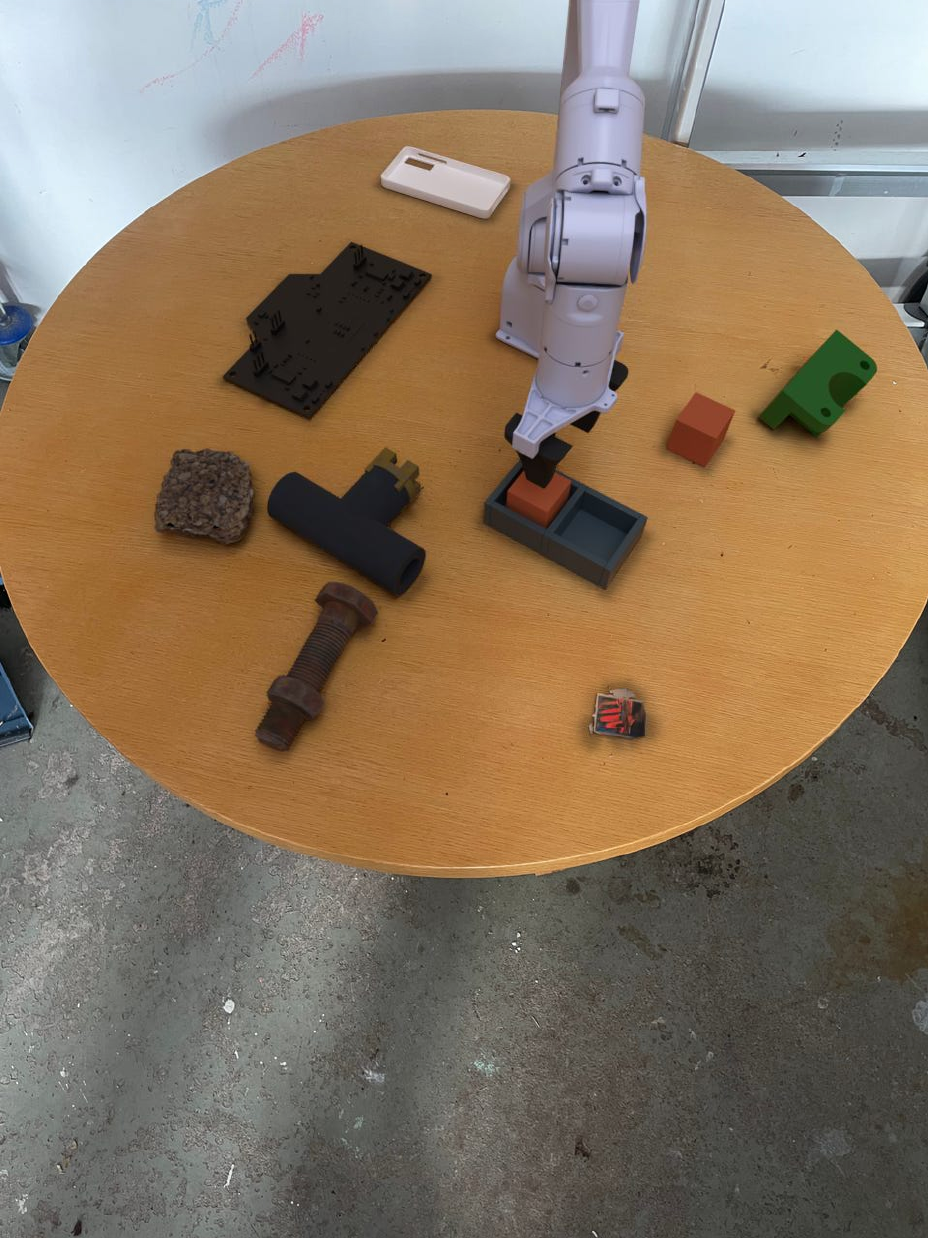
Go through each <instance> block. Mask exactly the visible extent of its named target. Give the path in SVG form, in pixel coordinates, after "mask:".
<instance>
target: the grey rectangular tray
mask: <svg viewBox="0 0 928 1238" xmlns="http://www.w3.org/2000/svg"><path fill="white" fill-rule="evenodd" d="M523 471H524V469H523V466H522V463H521V460H520V458H519V459H518V461H517V462H516V463H515V464H514V465H513V467H512V468H511V469H510V470H509V472H508V473H506V476H505V477H504V478H502V480H501V481H500V483H499V484H498V485H497V487H496V488H495V489H494V490H493V492H492V493H491V494H490V495H489V497H488V498H487V499H486V500H485V501H484V507H483V508H484V510H483V524H484V525H486V526H487V527H490V528H492V529H494V530H496V531H498V532H499V533H501V534H503V535H505V536H506V537H508V538H509V539H512V540H514V541H516V542H517V543H519V544H521V545H523V546H525V547H527V548H528V549H530V550H531V551H534V552H535V553H537V554H539V555H541V556H543V557H545V558H546V559H548V560H550V561H551V562H554V563H556V565H557V564H558V565H559V566H561V567H563V568H565V569H566V570H568V571H570V572H572V573H574V574H576V575H577V576H579V577H581V578H582V579H584V580H586V581H588V582H589V583H592V584H594V585H595V586H597V587H599V588H600V589H603V590H604V591H605V590H607V589H608V587H609V586H610V584H611V582H612V581H613V580H614V578H615V577H616V575H617V574H618V572H619V571H620V570H621V568H622V566H623V565H624V563H625V562H626V561H627V559H628V558H629V556H630V555H631V553H632V552H633V550H634V549H635V547H636V546H637V544H638V543H639V541H640V540H641V538H642V536H643V534H644V531H645V528H646V525H647V521H648V519H649V517H648V516H647V515H645V514H643V513H640V512H639V511H637V510H635V509H633V508H631V507H629V506H627V505H625V504H623V503H622V502H619V501H617V500H615V499H613V498H612V497H610V496H608V495H606V494H604V493H602V492H600V491H598V490H596V489H594V488H593V487H590V486H589V485H587V484H585V483H583V482H581V481H579V480H577V479H575V478H573V477H572V476H569V475H568V474H565V473H563V472H561V471H559V470H558V469H556V470H555V473H557V474H559V475H561V476H563V477H565V478H567V479H569V480H571V486H570V491H569V496H568V502H567V503H566V505H565V506H564V507H563V509H562V510H561V511H560V513H559V514H558V515H557V517H556V518H555V519H554V521H553V522H552V523H551V525H550V526H549V527H548V529H547V530H546V529H545V528H543V527H541V526H540V525H538V524H536V523H534V522H532V521H530V520H528V519H527V518H525V517H523V516H521V515H519V514H517V513H515V512H514V511H512V510H510V509H508V508H506V504H507V493H508V490H509V488H510V487H511V486H512V485H513V483H514V482H515V481H516V480H517V478H518V477H519V476H520V475H521V473H522V472H523Z"/></svg>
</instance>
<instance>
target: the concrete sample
mask: <svg viewBox="0 0 928 1238" xmlns="http://www.w3.org/2000/svg"><path fill="white" fill-rule="evenodd" d="M170 466H171V467H170V468H169V469H168V472H167V473H166V474H164V475H163V476H162V479H163V481H162V482H161V484H160V486H161V489H160V490H159V492H158V493H157V494H156V502H155V505H154V506H155V510H154V512H153V515H154V516H153V517H154V522H155V525H154V526H153V528H154V530H155V532H156V533H160V534H168V533H169V534H170V533H172V532H174V533H178V534H181V536H182V537H188V536H191V538H198V537H201V538H205V539H209V540H210V541H212V542H218V544H220V545H221V546H223V547H224V546H227V545H228V544H232V543H237V542H240V541H241V540H242V539H243V538H244V537H245V535H246V534H247V528H248V527H249V525H250V524H251V522H252V521H253V518H252V516H253V509H254V505H253V498H254V495H255V490H253V486H252V479H253V478H252V472H251V469H250V462H249V461H248V460H242V459H241V458H240V456H239V455H236V454H235V452H234V451H231V450H229V451H224V450H212V449H210V448H204V449H201V450H197V451H192V449H190V448H183V449H182V448H181V449H180V450H175V451H174V452H173V454H172V458H170Z"/></svg>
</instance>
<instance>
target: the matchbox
mask: <svg viewBox="0 0 928 1238" xmlns="http://www.w3.org/2000/svg"><path fill="white" fill-rule="evenodd" d="M594 707H595V712H594V713H593V714H591V716H592V717H594V724H593V723H592V722H590V724H589V725H588V729H589V733H590V736H591V737H592V736H593V737H594V735H593V733H596V734H598V735H606V736H613V737H614V736H615V737H618V738H619V739H622V737H623V738H625V739H633V738H643V737H646V733H647V723H648V717H647V712H646V709H645V705H644V701H643V700H638V699H636V694H635V693H634V691H633V690H629V689H628V688H616V689H610V690H609V694H604V693H600V692H597V694H596V703H595V705H594Z"/></svg>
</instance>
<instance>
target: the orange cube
mask: <svg viewBox="0 0 928 1238" xmlns="http://www.w3.org/2000/svg"><path fill="white" fill-rule="evenodd" d="M570 486H571V480H569V479H567V478H565V477H563V476H561V475H559V474H557V473H554V475H553V478H552V480H551V481H550V483H549V484H548V485H547V487H546V488H544V489H543V488H541V487H540V486H538V485H536V484H534V483H532V482H530V481H528V480H527V479H526V476H525V473H524V471H523V472H522V473H521V475H520V476H519V477H518V478H517V480H516V481H515V482H514V483H513V485H512V486H511V487H510V488H509V490H508V493H507V504H506V508H508V509H510V510H512V511H514V512H515V513H517V514H519V515H521V516H523V517H525V518H527V519H528V520H530V521H532V522H534V523H536V524H538V525H540V526H541V527H543V528H545V529H546V530H547V529H548V527H549V526H550V525H551V523H552V522H553V521H554V519H555V518H556V517H557V515H558V514H559V513H560V511H561V510H562V509H563V507H564V506H565V505H566V503H567V502H568V496H569V491H570Z"/></svg>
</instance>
